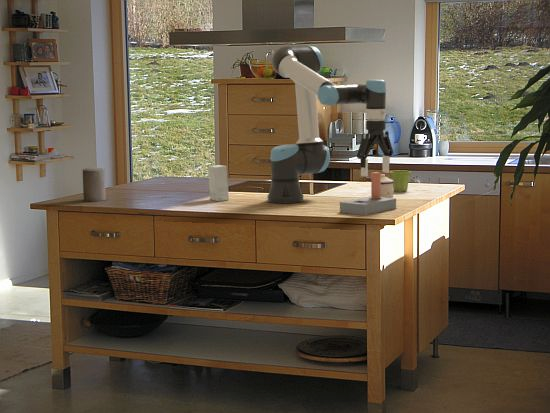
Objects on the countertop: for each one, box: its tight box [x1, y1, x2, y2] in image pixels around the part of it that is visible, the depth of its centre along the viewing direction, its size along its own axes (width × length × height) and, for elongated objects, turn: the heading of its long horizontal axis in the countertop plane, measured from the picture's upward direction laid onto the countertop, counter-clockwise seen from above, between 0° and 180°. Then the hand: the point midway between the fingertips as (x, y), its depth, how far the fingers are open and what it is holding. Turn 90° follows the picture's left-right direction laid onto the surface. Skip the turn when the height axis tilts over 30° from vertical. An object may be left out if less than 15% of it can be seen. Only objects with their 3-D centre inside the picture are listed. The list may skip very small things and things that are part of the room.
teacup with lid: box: [381, 173, 394, 198], centre depth 387 cm, size 12×9×12 cm
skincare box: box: [207, 164, 230, 202], centre depth 406 cm, size 8×6×15 cm
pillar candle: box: [82, 166, 107, 202], centre depth 414 cm, size 10×10×15 cm
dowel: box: [370, 171, 382, 200], centre depth 371 cm, size 4×4×14 cm
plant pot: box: [389, 169, 412, 193], centre depth 423 cm, size 9×9×9 cm
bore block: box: [339, 196, 397, 216], centre depth 369 cm, size 12×20×4 cm, turn 136°
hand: (375, 174), depth 371 cm, fingers open, 13 cm apart
